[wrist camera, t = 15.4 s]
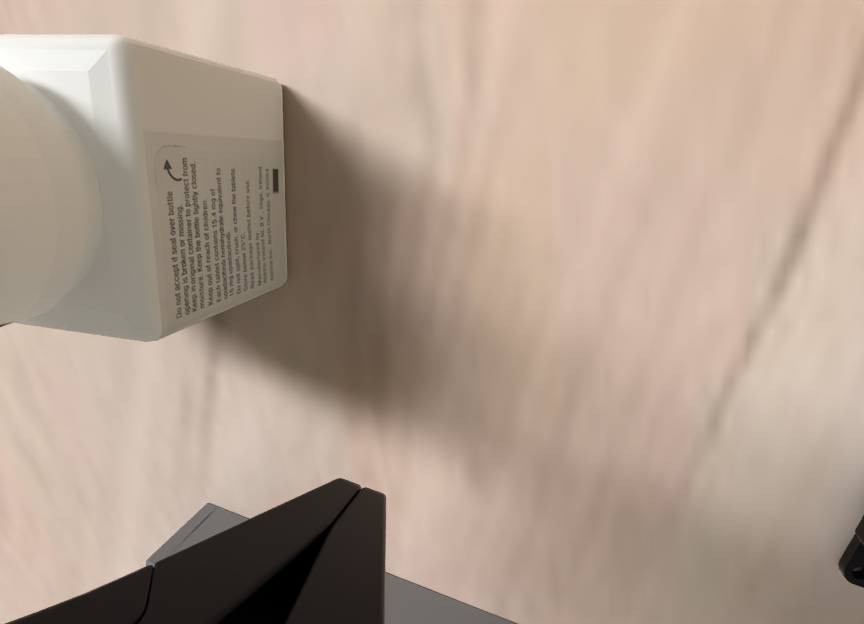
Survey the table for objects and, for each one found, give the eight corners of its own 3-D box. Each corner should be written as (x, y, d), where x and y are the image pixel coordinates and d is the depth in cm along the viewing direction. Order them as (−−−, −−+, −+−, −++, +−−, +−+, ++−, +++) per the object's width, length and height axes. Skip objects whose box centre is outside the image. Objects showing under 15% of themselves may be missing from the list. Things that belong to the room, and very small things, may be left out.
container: (128, 268, 23) (-347, 382, 11) (107, 75, 21) (-510, -41, 9) (291, 285, 22) (-61, 442, 10) (286, 79, 20) (-177, -57, 7)
